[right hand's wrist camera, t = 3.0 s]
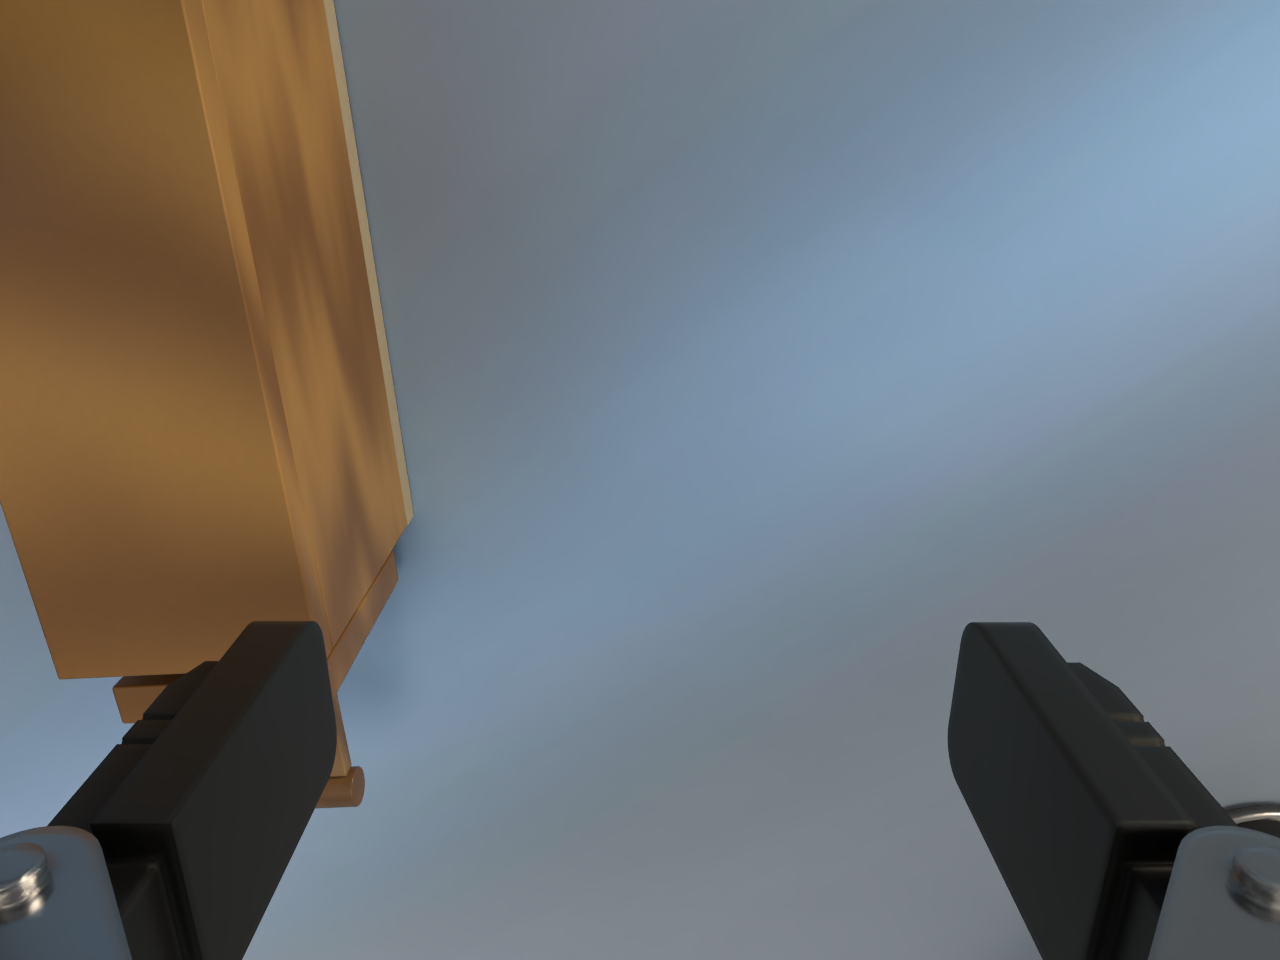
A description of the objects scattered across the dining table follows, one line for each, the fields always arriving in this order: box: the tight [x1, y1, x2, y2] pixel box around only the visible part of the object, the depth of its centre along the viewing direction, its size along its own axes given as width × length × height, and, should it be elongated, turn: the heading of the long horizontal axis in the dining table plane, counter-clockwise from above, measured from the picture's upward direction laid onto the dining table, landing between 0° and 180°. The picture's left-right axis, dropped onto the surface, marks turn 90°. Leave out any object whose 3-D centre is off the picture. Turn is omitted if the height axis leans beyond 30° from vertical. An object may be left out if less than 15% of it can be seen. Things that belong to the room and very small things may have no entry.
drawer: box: [113, 551, 398, 808], centre depth 26 cm, size 24×6×8 cm, turn 3°
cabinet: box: [0, 0, 414, 679], centre depth 24 cm, size 20×7×10 cm, turn 3°
